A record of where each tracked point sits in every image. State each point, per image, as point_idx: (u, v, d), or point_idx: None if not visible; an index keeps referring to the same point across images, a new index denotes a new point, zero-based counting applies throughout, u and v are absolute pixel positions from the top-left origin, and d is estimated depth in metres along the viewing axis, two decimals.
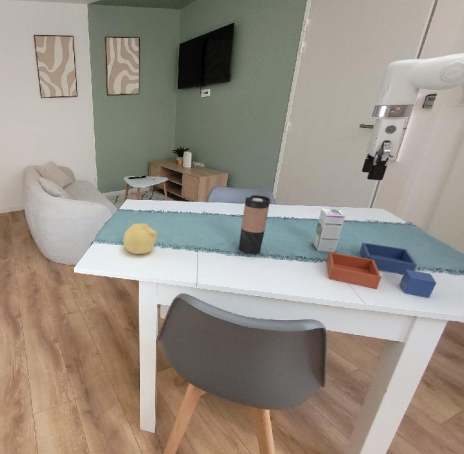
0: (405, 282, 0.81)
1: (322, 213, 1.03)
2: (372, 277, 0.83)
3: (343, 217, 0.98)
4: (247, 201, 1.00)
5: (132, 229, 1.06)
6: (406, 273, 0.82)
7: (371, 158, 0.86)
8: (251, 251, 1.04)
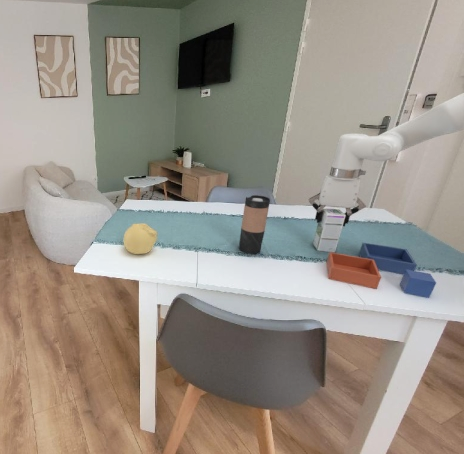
0: (405, 282, 0.81)
1: (322, 213, 1.03)
2: (372, 277, 0.83)
3: (343, 217, 0.98)
4: (247, 201, 1.00)
5: (132, 229, 1.06)
6: (406, 273, 0.82)
7: (321, 211, 1.02)
8: (251, 251, 1.04)
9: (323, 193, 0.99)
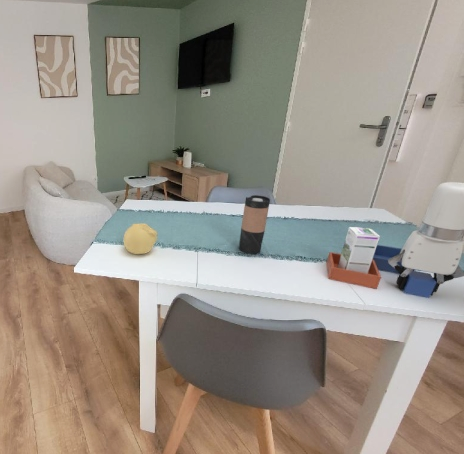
0: None
1: (350, 233, 0.86)
2: (372, 277, 0.83)
3: (377, 238, 0.82)
4: (247, 201, 1.00)
5: (132, 229, 1.06)
6: None
7: None
8: (251, 251, 1.04)
9: (409, 254, 0.78)
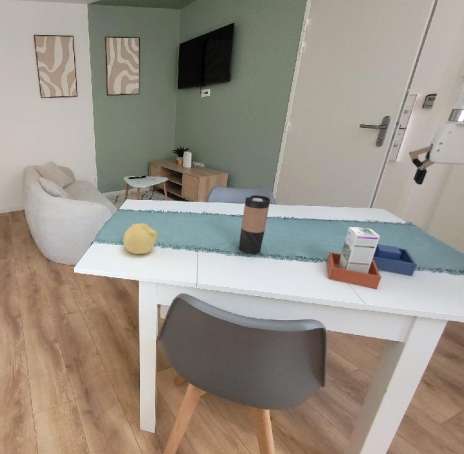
0: (376, 254, 0.95)
1: (350, 233, 0.86)
2: (372, 277, 0.83)
3: (377, 238, 0.82)
4: (247, 201, 1.00)
5: (132, 229, 1.06)
6: (377, 247, 0.95)
7: None
8: (251, 251, 1.04)
9: (438, 146, 0.74)
